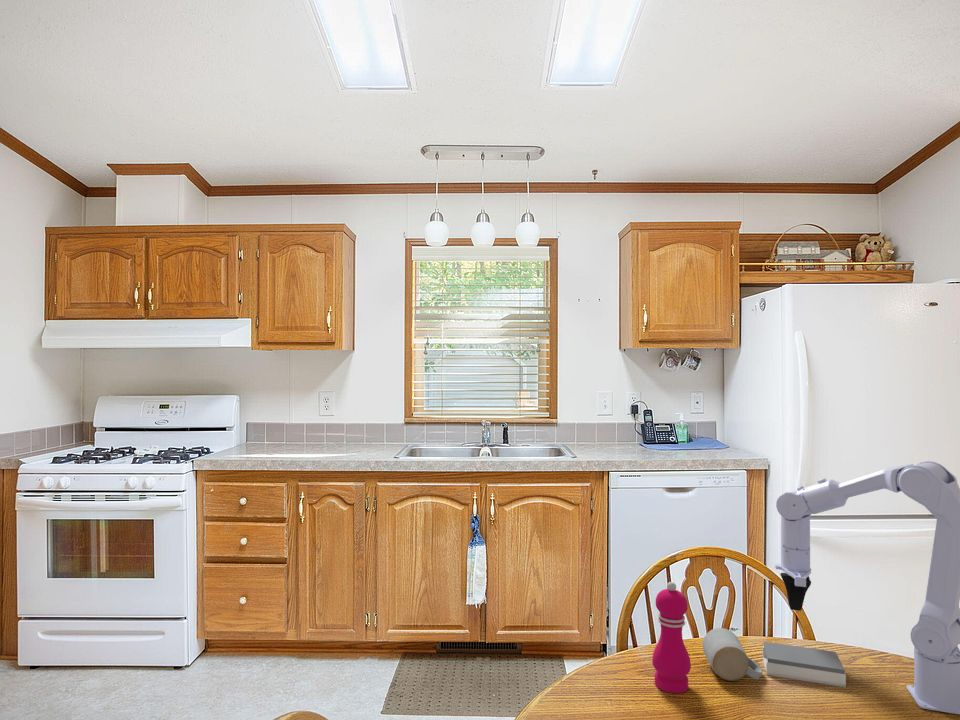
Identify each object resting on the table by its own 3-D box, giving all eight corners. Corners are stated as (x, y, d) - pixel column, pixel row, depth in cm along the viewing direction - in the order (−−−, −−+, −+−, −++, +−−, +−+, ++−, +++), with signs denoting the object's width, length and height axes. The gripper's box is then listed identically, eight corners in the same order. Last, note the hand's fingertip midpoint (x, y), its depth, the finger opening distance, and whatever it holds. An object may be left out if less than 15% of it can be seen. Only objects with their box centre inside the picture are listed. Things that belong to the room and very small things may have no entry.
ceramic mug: (712, 682, 120) (713, 643, 120) (701, 662, 128) (702, 625, 128) (768, 686, 119) (769, 647, 119) (754, 666, 127) (755, 629, 127)
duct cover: (835, 655, 126) (835, 651, 126) (844, 674, 118) (844, 669, 118) (763, 645, 130) (763, 641, 130) (767, 662, 123) (767, 658, 123)
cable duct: (836, 668, 126) (836, 656, 126) (845, 687, 118) (845, 674, 118) (762, 657, 130) (762, 645, 130) (766, 674, 123) (766, 662, 123)
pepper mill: (693, 697, 114) (693, 590, 115) (653, 692, 116) (653, 587, 116) (688, 678, 121) (688, 577, 122) (650, 674, 123) (651, 574, 123)
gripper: (771, 536, 141) (771, 595, 141) (779, 554, 128) (779, 619, 127) (805, 539, 139) (805, 599, 139) (817, 557, 125) (817, 624, 125)
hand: (795, 609), depth 133 cm, fingers closed
